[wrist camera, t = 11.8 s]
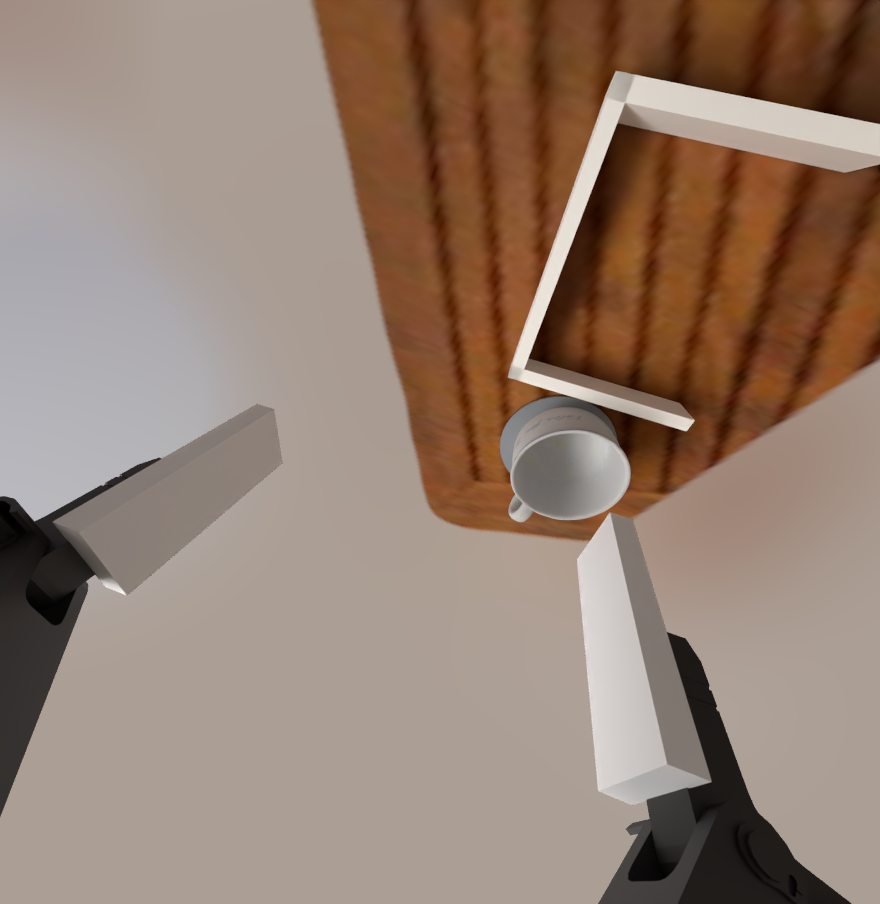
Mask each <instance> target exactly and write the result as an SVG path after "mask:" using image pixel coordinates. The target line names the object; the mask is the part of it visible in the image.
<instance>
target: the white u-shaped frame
mask: <svg viewBox="0 0 880 904" xmlns="http://www.w3.org/2000/svg"><path fill="white" fill-rule="evenodd" d="M617 123H619V124H624V125H629V126H633V127H638V128H642V129H647V130H651V131H656V132H661V133H665V134H670V135H674V136H679V137H684V138H688V139H693V140H697V141H702V142H707V143H711V144H716V145H720V146H725V147H729V148H734V149H739V150H743V151H748V152H752V153H757V154H762V155H766V156H771V157H775V158H780V159H784V160H789V161H794V162H798V163H803V164H807V165H812V166H817V167H821V168H826V169H830V170H835V171H840V172H844V173H846V172H850V171H854V170H858V169H862V168H867V167H871V166H875V165H879V164H880V124H876V123H871V122H866V121H861V120H856V119H851V118H846V117H841V116H836V115H831V114H826V113H821V112H817V111H812V110H807V109H802V108H797V107H792V106H787V105H782V104H777V103H772V102H767V101H762V100H757V99H752V98H747V97H742V96H738V95H733V94H728V93H723V92H718V91H713V90H708V89H703V88H698V87H693V86H688V85H683V84H678V83H673V82H668V81H664V80H659V79H654V78H649V77H644V76H639V75H634V74H629V73H624V72H619V71H616V72H615V74H614V77H613V79H612V81H611V84H610V86H609V88H608V91H607V93H606V95H605V98H604V101H603V104H602V107H601V110H600V112H599V115H598V118H597V121H596V124H595V127H594V130H593V132H592V135H591V138H590V141H589V144H588V147H587V149H586V152H585V155H584V158H583V161H582V164H581V167H580V169H579V172H578V175H577V178H576V181H575V184H574V187H573V189H572V192H571V195H570V198H569V201H568V204H567V206H566V209H565V212H564V215H563V218H562V221H561V224H560V226H559V229H558V232H557V235H556V238H555V241H554V244H553V246H552V249H551V252H550V255H549V258H548V261H547V264H546V266H545V269H544V272H543V275H542V278H541V281H540V283H539V286H538V289H537V292H536V295H535V298H534V301H533V303H532V306H531V309H530V312H529V315H528V318H527V321H526V323H525V326H524V329H523V332H522V335H521V338H520V340H519V343H518V346H517V349H516V352H515V355H514V358H513V360H512V363H511V367H510V371H509V375H508V378H511V379H515V380H518V381H521V382H525V383H528V384H531V385H535V386H538V387H541V388H544V389H548V390H551V391H554V392H558V393H561V394H564V395H568V396H571V397H574V398H578V399H581V400H584V401H587V402H591V403H594V404H597V405H601V406H604V407H607V408H611V409H614V410H617V411H620V412H624V413H627V414H630V415H634V416H637V417H640V418H644V419H647V420H650V421H653V422H657V423H660V424H663V425H667V426H670V427H673V428H677V429H680V430H683V431H687V430H688V429H689V427H690V426H691V425H692V424H693V422H694V421H695V420H694V419H693V418H692V417H691V416H690V414H689V413H688V412H687V411H686V410H685V409H684V408H683V406H682V405H681V404H680V403H678V402H675V401H671V400H668V399H664V398H661V397H658V396H654V395H651V394H647V393H644V392H641V391H637V390H634V389H631V388H627V387H624V386H620V385H617V384H614V383H610V382H607V381H603V380H600V379H597V378H593V377H590V376H586V375H583V374H580V373H576V372H573V371H570V370H566V369H563V368H559V367H556V366H553V365H549V364H546V363H542V362H539V361H536V360H532V359H529V355H530V352H531V350H532V347H533V344H534V342H535V339H536V336H537V334H538V331H539V329H540V326H541V323H542V321H543V318H544V315H545V313H546V310H547V307H548V305H549V302H550V299H551V297H552V294H553V292H554V289H555V286H556V284H557V281H558V278H559V276H560V273H561V270H562V268H563V265H564V263H565V260H566V257H567V255H568V252H569V249H570V247H571V244H572V241H573V239H574V236H575V233H576V231H577V228H578V226H579V223H580V220H581V218H582V215H583V212H584V210H585V207H586V204H587V202H588V199H589V196H590V194H591V191H592V189H593V186H594V183H595V181H596V178H597V175H598V173H599V170H600V167H601V165H602V162H603V159H604V157H605V154H606V152H607V149H608V146H609V144H610V141H611V138H612V136H613V133H614V130H615V128H616V125H617Z"/></svg>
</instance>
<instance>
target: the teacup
mask: <svg viewBox="0 0 880 904" xmlns="http://www.w3.org/2000/svg"><path fill="white" fill-rule="evenodd" d="M630 478H631V468H630V464H629V461H628V458H627V456H626V455H625V453H624V451H623V450H622V449H621V448H620V446H619V443H618V442H617V440H616V438H615V436H614V434H613V433H612V431H611V430H610V428H609V427H608V426H607V424H606V423H605V422H604V421H603V420H601V419H600V418H599V417H597V416H596V415H594V414H593V413H591V412H588V411H586V410H583V409H579V408H572V407H560V408H554V409H550V410H547V411H544V412H542V413H540V414H538V415H536V416H535V417H533V418H532V419H531V420H529V421H528V422H527V423H526V424H525V425H524V427H523V428H522V429H521V431H520V432H519V434H518V436H517V438H516V441H515V444H514V450H513V459H512V467H511V485H512V488H513V491H514V493H515V496H514V497H513V499H512V501H511V503H510V506H509V515H510V516H511V518H512V519H514V520H516V521H518V522H523V521H525V520H527V519H528V518H529V517H530V516H531V515H532V513H533V512H536V513H538V514H540V515H543V516H546V517H550V518H553V519H558V520H577V519H584V518H588V517H592V516H595V515H597V514H600V513H602V512H604V511H606V510H608V509H609V508H611V507H612V506H613V505H615V504H616V503H617V502H618V501H619V500H620V499H621V498H622V496H623V495H624V494H625V492H626V490H627V488H628V486H629V483H630Z"/></svg>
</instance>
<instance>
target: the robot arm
mask: <svg viewBox="0 0 880 904" xmlns="http://www.w3.org/2000/svg"><path fill="white" fill-rule="evenodd" d="M281 464H282V457H281V450H280V444H279V437H278V431H277V425H276V418H275V413H274V409H272V408H268V407H265V406H262V405H258V404H256V405H255V406H253V407H251V408H249V409H247V410H246V411H244V412H242V413H240V414H239V415H237V416H235V417H234V418H232V419H230V420H228V421H227V422H225V423H223V424H221V425H220V426H218V427H216V428H214V429H213V430H211V431H209V432H208V433H206V434H204V435H202V436H201V437H199V438H197V439H195V440H194V441H192V442H190V443H188V444H187V445H185V446H183V447H181V448H180V449H178V450H176V451H175V452H173V453H171V454H169V455H168V456H166V457H164V458H162V459H161V458H157V459H154V460H151V461H148V462H145V463H142V464H139V465H137V466H135V467H133V468H131V469H129V470H128V471H126V472H124V473H122V474H121V475H120V477H115V478H113V479H111V480H110V481H108V482H106V483H105V485H104V486H102V485H101V486H99V487H97V488H95V489H94V490H92V491H90V492H88V493H86V494H85V495H83V496H81V497H79V498H77V499H76V500H74V501H72V502H70V503H68V504H67V505H65V506H63V507H61V508H60V509H58V510H56V511H54V512H52V513H50V514H49V515H47V516H45V517H43V518H41V519H39V520H37V521H35V522H34V521H33V520H32V518H31V517H30V516H29V515H28V514H27V513H26V511H25V510H24V509H23V508H22V507H21V506H20V504H19V503H18V502H17V501H16V500H15V499H13V498H9V497H5V496H4V497H3V496H2V497H0V816H1V813H2V811H3V808H4V806H5V803H6V800H7V798H8V795H9V793H10V790H11V787H12V785H13V782H14V779H15V777H16V775H17V772H18V770H19V767H20V764H21V762H22V759H23V757H24V754H25V752H26V749H27V746H28V744H29V741H30V739H31V736H32V733H33V731H34V728H35V726H36V723H37V720H38V718H39V715H40V713H41V710H42V708H43V705H44V702H45V700H46V697H47V695H48V692H49V690H50V687H51V684H52V682H53V679H54V677H55V674H56V672H57V669H58V666H59V664H60V661H61V659H62V656H63V654H64V651H65V648H66V646H67V643H68V641H69V638H70V636H71V633H72V630H73V627H74V625H75V623H76V620H77V618H78V615H79V612H80V610H81V607H82V604H83V602H84V599H85V597H86V594H87V591H88V584H87V582H86V581H87V580H88V579H89V578H91V577H92V576H94V575H96V576H97V577H98V579H99V580H100V581H101V582H102V584H103V585H104V586H105V587H107V588H110V589H112V590H115V591H117V592H120V593H122V594H124V595H128V594H130V593H131V592H132V591H133V590H134V589H136V588H137V587H138V586H139V585H140V584H141V583H142V582H144V581H145V580H146V579H147V578H148V577H149V576H151V575H152V574H153V573H154V572H155V571H157V570H158V569H159V568H160V567H161V566H162V565H164V564H165V563H166V562H167V561H168V560H169V559H170V558H172V557H173V556H174V555H175V554H176V553H178V552H179V551H180V550H181V549H182V548H183V547H185V546H186V545H187V544H188V543H189V542H191V541H192V540H193V539H194V538H195V537H196V536H197V535H199V534H200V533H201V532H202V531H203V530H205V529H206V528H207V527H208V526H209V525H210V524H212V523H213V522H214V521H215V520H216V519H217V518H219V517H220V516H221V515H222V514H223V513H225V512H226V511H227V510H228V509H229V508H230V507H232V506H233V505H234V504H235V503H236V502H237V501H239V500H240V499H241V498H242V497H243V496H244V495H246V494H247V493H248V492H249V491H250V490H251V489H253V488H254V487H255V486H256V485H257V484H258V483H260V482H261V481H262V480H263V479H264V478H265V477H267V476H268V475H269V474H270V473H271V472H273V470H275V469H276V468H277V467H278V466H280V465H281ZM577 564H578V575H579V587H580V598H581V609H582V620H583V631H584V641H585V652H586V663H587V674H588V685H589V696H590V706H591V718H592V729H593V740H594V751H595V762H596V773H597V783H598V791H599V792H601V793H604V794H606V795H609V796H611V797H613V798H616V799H619V800H621V801H623V802H626V803H628V804H630V805H635V804H638V803H641V802H645V801H647V806H648V812H649V817H650V819H648V820H644V821H639V822H636V823H632V824H631V825H630V826H629V827H627V829H626V830H627V831H628V833H629V834H630V835H633V834H638V836H637V837H636V839H635V841H634V843H633V844H632V846H631V848H630V850H629V851H628V853H627V855H626V857H625V858H624V860H623V862H622V863H621V865H620V867H619V869H618V871H617V872H616V874H615V876H614V877H613V879H612V881H611V883H610V884H609V886H608V888H607V890H606V891H605V893H604V895H603V897H602V898H601V900H600V902H599V903H598V904H851V903H850V902H849V901H847V900H846V899H845V898H843V897H842V896H841V895H840V894H838V893H837V892H836V891H834V890H833V889H832V888H831V887H829V886H828V885H827V884H825V883H824V882H823V881H822V880H820V879H819V878H817V877H816V876H815V875H814V874H812V873H811V872H810V871H809V870H807V869H806V868H805V867H803V866H802V865H801V864H800V863H799V862H798V861H797V860H795V859H794V857H793V855H792V853H791V852H790V850H789V848H788V846H787V845H786V843H785V842H784V841H783V839H782V838H781V837H780V835H779V834H778V833H777V832H776V831H775V829H774V828H773V827H772V825H771V824H770V823H769V822H768V821H766V820H765V819H764V818H763V817H762V816H761V815H760V814H759V813H758V812H757V810H756V809H755V807H754V805H753V802H752V800H751V798H750V796H749V793H748V791H747V788H746V785H745V782H744V780H743V777H742V774H741V772H740V769H739V766H738V763H737V760H736V758H735V755H734V752H733V749H732V746H731V744H730V741H729V738H728V735H727V733H726V730H725V727H724V724H723V722H722V719H721V716H720V713H719V711H717V710H716V707H717V705H716V702H715V700H714V697H713V694H712V691H710V690H709V683H708V680H707V677H706V674H705V672H704V669H703V666H702V663H701V661H700V660H699V658H698V657H697V655H696V654H695V652H694V651H693V649H692V648H691V646H690V645H689V643H688V642H687V640H686V639H685V638H682V637H679V636H676V635H674V634H671V633H668V632H667V631H666V628H665V625H664V621H663V618H662V615H661V612H660V608H659V605H658V602H657V598H656V595H655V592H654V588H653V585H652V582H651V578H650V575H649V572H648V569H647V565H646V562H645V559H644V555H643V552H642V549H641V545H640V542H639V539H638V535H637V532H636V529H635V525H634V522H633V519H630V518H627V517H624V516H620V515H617V514H614V513H609V515H608V516H607V517H606V519H605V520H604V522H603V523H602V525H601V526H600V528H599V529H598V530H597V532H596V533H595V535H594V536H593V538H592V539H591V541H590V542H589V543H588V545H587V546H586V548H585V549H584V551H583V552H582V553H581V555H580V556H579V558H578V559H577Z"/></svg>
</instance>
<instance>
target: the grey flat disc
mask: <svg viewBox="0 0 880 904" xmlns="http://www.w3.org/2000/svg"><path fill="white" fill-rule="evenodd" d="M560 407H572V408H579V409H583V410H586V411H588V412H591V413H593V414H594V415H596V416H597V417H599V418H600V419H601V420H603V421H604V422H605V423H606V424H607V426H608V427H609V428H610V430H611V431H612V433H613V434H614V436H615V438H616V440H617V435H616V432H615V429H614V426H613V424H612V422H611V420H610V419H609V418H608V416H607V415H606V414H605V413H604V412H603V411H602V410H601V409H600V408H598V407H597V406H596V405H594V404H592V403H590V402H587V401H584V400H581V399H578V398H574V397H571V396H548V397H544V398H540V399H537V400H534V401H532V402H530V403H528V404H526V405H524V406H523V407H521V408H520V409H519V410H517V411H516V412H515V413H514V414H513V415H512V416H511V417H510V419H509V420H508V422H507V423H506V425H505V427H504V429H503V432H502V435H501V440H500V453H501V457H502V460H503V463H504V465H505V467H506V468H507V470H508V471H509V472H510V473H511V467H512V459H513V450H514V444H515V441H516V438H517V436H518V434H519V432H520V431H521V429H522V428H523V427H524V425H525V424H526V423H527V422H528V421H529V420H531V419H532V418H533V417H535V416H536V415H538V414H540V413H542V412H544V411H547V410H550V409H554V408H560Z"/></svg>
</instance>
